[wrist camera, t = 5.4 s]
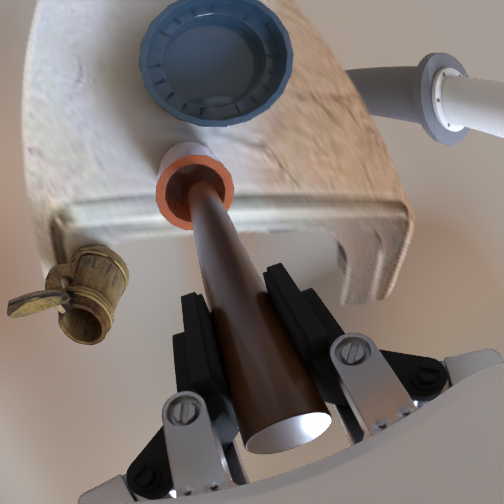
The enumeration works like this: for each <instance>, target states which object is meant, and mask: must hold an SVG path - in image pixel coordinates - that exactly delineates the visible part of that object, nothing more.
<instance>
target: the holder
mask: <svg viewBox="0 0 504 504" xmlns="http://www.w3.org/2000/svg"><path fill="white" fill-rule="evenodd" d="M198 182H208V183H210V184H211V185H213V186H214V188H215V189H216V191H217V193H218V195H219V197H220V199H221V201H222V203H223V205H224V207H225V209H226V211H228V210H229V208H230V206H231V204H232V202H233V195H234V185H233V181H232V178H231V175H230V173H229V172H228V171H227V169H226V168H225V167H224V166H223V164H222V163H221V162H220V161H219V160H218V159H217V158H216V157H215V156H214V155H213V154H212V152H211V151H210V150H209V149H208V148H207V147H205V146H203V145H202V144H199V143H197V142H182V143H179V144H176V145H174V146H173V147H171V148H170V149H169V150H168V151H167V152H166V153H165V155H164V157H163V159H162V161H161V163H160V168H159V174H158V179H157V185H156V202H157V204H158V207H159V210H160V212H161V214H162V215H163V216H164V217H165V218H166V219H167V220H168V221H169V222H170V223H171V224H173V225H175V226H177V227H180V228H182V229H185V230H193V226H192V220H191V214H190V209H189V203H188V192H189V190H190V188H191V187H192V186H193V185H194V184H196V183H198Z"/></svg>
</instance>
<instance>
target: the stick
mask: <svg viewBox="0 0 504 504" xmlns="http://www.w3.org/2000/svg"><path fill="white" fill-rule="evenodd" d="M188 203H189V209H190V214H191V220H192V226H193V231H194V237H195V242H196V247H197V253H198V258H199V263H200V268H201V273H202V278H203V283H204V288H205V293H206V298H207V302H208V307H209V312H210V314H211V319H212V323H213V328H214V332H215V336H216V341H217V345H218V349H219V353H220V357H221V361H222V365H223V369H224V373H225V377H226V381H227V385H228V389H229V392H230V398H231V402H232V406H233V409H234V413H235V416H236V420H237V424H238V427H239V431H240V434H241V437H242V441H243V444H244V447H245V449H246V450H247V451H249V452H251V453H255V454H273V453H279V452H283V451H287V450H290V449H293V448H296V447H299V446H301V445H303V444H305V443H307V442H309V441H311V440H312V439H314V438H316V437H317V436H318V435H320V434H321V433H322V432H323V431H324V430H326V428H327V427H328V426H329V425H330V423H331V420H332V417H331V414H330V412H329V410H328V408H327V406H326V404H325V402H324V400H323V398H322V396H321V394H320V393H319V391H318V389H317V387H316V385H315V383H314V381H313V379H312V377H311V375H310V373H309V371H308V370H307V368H306V367H305V365H304V363H303V361H302V359H301V357H300V355H299V353H298V351H297V349H296V347H295V345H294V343H293V341H292V339H291V337H290V336H289V334H288V332H287V330H286V328H285V326H284V324H283V322H282V320H281V318H280V316H279V314H278V312H277V310H276V308H275V306H274V304H273V302H272V300H271V298H270V296H269V294H268V292H267V290H266V288H265V286H264V284H263V282H262V280H261V278H260V276H259V274H258V272H257V270H256V268H255V266H254V264H253V262H252V260H251V259H250V256H249V254H248V252H247V251H246V248H245V247H244V244H243V243H242V241H241V239H240V237H239V235H238V233H237V231H236V229H235V227H234V225H233V223H232V221H231V219H230V217H229V215H228V213H227V211H226V209H225V207H224V205H223V203H222V201H221V199H220V197H219V195H218V193H217V191H216V189H215V188H214V186H213V185H211V184H210V183H208V182H198V183H196V184H194V185H193V186H192V187H191V188H190V190H189V192H188Z"/></svg>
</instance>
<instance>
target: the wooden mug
mask: <svg viewBox="0 0 504 504" xmlns="http://www.w3.org/2000/svg"><path fill="white" fill-rule="evenodd" d="M62 278H64V279H66V284H65V288H64V289H63V287H62V284H61V279H62ZM128 281H129V271H128V268H127V266H126V264H125V263H124V261H123V260H122V258H121V257H120V256H119V255H118V254H116V253H115V252H114V251H112V250H111V249H109V248H107V247H104V246H100V245H90V246H86V247H83V248H80V249H78V250H77V251H75V253H74V254H73V256H72V257H71V260H70V262H69V264H61V265H56V266H54V267H53V268H51V269H50V270H49V273H48V275H47V278H46V283H45V290H44V291H37V292H33V293H29V294H26V295H22V296H20V297H17V298H15V299H12V300H10V301H9V302H8V310H7V315H8V316H10V317H12V318H17V317H21V316H27V315H30V314H34V313H38V312H40V311H43V310H46V309H49V308H51V307H55V308H56V309H57V310H58V315H59V321H58V323H59V325H60V328H61V329H62V331H63V332H64V333H65V334H66V335H67V336H68V337H69V338H70V339H72V340H73V341H75V342H77V343H80V344H86V345H94V344H97V343H99V342H101V341H102V340H103V339H104V338H105V336H106V333H107V332H108V331H109V330H110V328H111V326H112V324H113V321H114V313H115V310H116V308H117V305H118V303H119V300H120V297H121V296H122V294H123V293H124V291H125V289H126V287H127V285H128Z"/></svg>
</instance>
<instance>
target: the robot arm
mask: <svg viewBox="0 0 504 504" xmlns="http://www.w3.org/2000/svg"><path fill="white" fill-rule="evenodd" d="M432 103H433V108H434V112H435V114H436V117H437V119H438V121H439V122H440V124H441V125H442V126H443V127H444V128H445V129H447V130H449V131H453V132H457V131H460V130H462V129H463V128H464V127H468V128H472V129H476V130H479V131H483V132H486V133H489V134H492V135H496V136H499V137H502V138H504V83H503V82H497V81H491V80H484V79H478V78H470V77H463V76H462V75H461V73H460V72H458V71H457V70H456V69H454V68H448V67H446V68H442V69H440V70H439V71H438V72H437V74H436V75H435V77H434V80H433V84H432ZM263 276H264V280H265V284H266V288H267V292H268V294H269V296H270V298H271V300H272V302H273V304H274V306H275V308H276V310H277V312H278V314H279V316H280V318H281V320H282V322H283V324H284V326H285V328H286V330H287V332H288V334H289V336H290V337H291V339H292V341H293V343H294V345H295V347H296V349H297V351H298V353H299V355H300V357H301V359H302V361H303V363H304V365H305V367H306V368H307V370H308V371H309V373H310V375H311V377H312V379H313V381H314V383H315V385H316V387H317V389H318V391H319V393H320V394H321V396H322V398H323V400H324V402H328V403H332V406H333V408H334V410H335V412H336V414H337V416H338V419H339V421H340V423H341V425H342V427H343V429H344V432H345V434H346V436H347V438H348V440H349V442H350V444H351V447H349V448H347V449H344V450H342V451H340V452H338V453H335V454H333V455H331V456H328V457H326V458H324V459H321V460H319V461H316V462H314V463H311V464H308V465H306V466H303V467H300V468H298V469H295V470H292V471H289V472H286V473H283V474H280V475H277V476H274V477H270V478H267V479H263V480H260V481H256V482H253V483H250V482H249V479H248V477H247V474H246V471H245V468H244V465H243V462H242V460H241V457H240V454H239V451H238V448H237V445H236V442H235V440H234V438H235V437H236V435H237V434H238V432H239V428H238V424H237V420H236V416H235V413H234V409H233V406H232V402H231V398H230V392H229V389H228V385H227V381H226V377H225V373H224V369H223V365H222V361H221V357H220V353H219V349H218V345H217V341H216V336H215V332H214V328H213V323H212V319H211V314H210V312H209V309H208V307H207V305H206V303H205V300H204V298H203V296H202V294H199V295H197V294H196V293H195V292H193V293H190V294H187V295H184V296H181V303H182V313H183V323H184V332H182V333H179V334H175V335H173V350H174V364H175V373H176V384H177V394H174V395H173V396H171V397H170V398H169V399H168V400H167V401H166V402H165V404H164V406H163V409H162V421H163V426H162V427H161V428H160V430H159V431H158V432H157V433H156V435H155V436H154V437H153V438H152V440H151V441H150V442H149V443H148V444H147V446H146V447H145V448H144V449H143V450H142V452H141V453H140V454H139V455H138V457H137V458H136V459H135V460H134V461H133V462H132V464H131V465H130V467H129V468H128V470H127V474H125V475H123V476H122V475H118V476H116V477H114V478H112V479H111V480H108V481H107V482H105V483H103V484H101V485H99V486H97V487H95V488H93V489H91V490H89V491H87V492H85V493H83V494H82V495H81V496H80V498H79V500H78V504H504V361H503V358H502V356H501V355H500V353H498V352H497V351H496V350H493V349H483V350H478V351H474V352H470V353H466V354H461V355H457V356H452V357H447V358H445V359H444V361H438V360H436V359H433V358H429V357H422V356H416V355H409V354H403V353H397V352H391V351H385V350H379V349H378V348H377V346H376V345H375V343H374V342H373V341H372V340H371V339H370V338H369V337H368V336H366V335H364V334H360V333H348V334H345V333H344V331H343V330H342V329H341V327H340V326H339V324H338V323H337V321H336V320H335V319H334V317H333V316H332V315H331V313H330V312H329V310H328V309H327V307H326V306H325V305H324V303H323V302H322V300H321V299H320V298H319V296H318V295H317V293H316V292H315V291H314V290H313V289H312V288H309V289H307V290H304V291H301V292H300V290H299V289H298V287H297V286H296V284H295V283H294V281H293V280H292V278H291V277H290V275H289V274H288V272H287V271H286V269H285V268H284V266H283V265H282V263H278V264H276V265H272V266H270V267H267V272H264V273H263Z"/></svg>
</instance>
